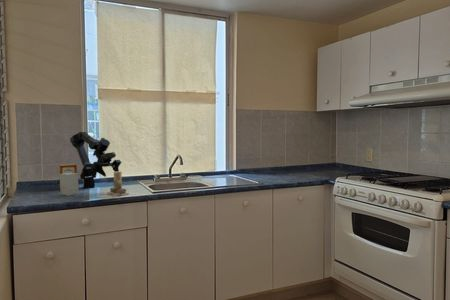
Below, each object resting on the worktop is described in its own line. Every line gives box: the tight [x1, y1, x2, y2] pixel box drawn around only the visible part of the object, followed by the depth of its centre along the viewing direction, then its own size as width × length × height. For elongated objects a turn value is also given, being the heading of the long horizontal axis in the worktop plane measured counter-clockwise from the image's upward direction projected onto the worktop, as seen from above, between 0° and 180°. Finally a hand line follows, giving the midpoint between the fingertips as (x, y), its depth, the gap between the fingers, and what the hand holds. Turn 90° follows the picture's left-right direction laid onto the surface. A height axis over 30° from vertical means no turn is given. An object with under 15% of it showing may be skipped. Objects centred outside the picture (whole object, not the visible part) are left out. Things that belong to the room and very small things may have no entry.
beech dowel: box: [113, 170, 123, 189], centre depth 206 cm, size 4×4×10 cm
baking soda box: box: [58, 163, 78, 190], centre depth 222 cm, size 10×6×16 cm
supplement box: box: [59, 172, 80, 197], centre depth 204 cm, size 7×7×13 cm
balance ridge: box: [106, 186, 130, 197], centre depth 206 cm, size 11×8×4 cm
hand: (112, 175), depth 209 cm, fingers open, 9 cm apart
